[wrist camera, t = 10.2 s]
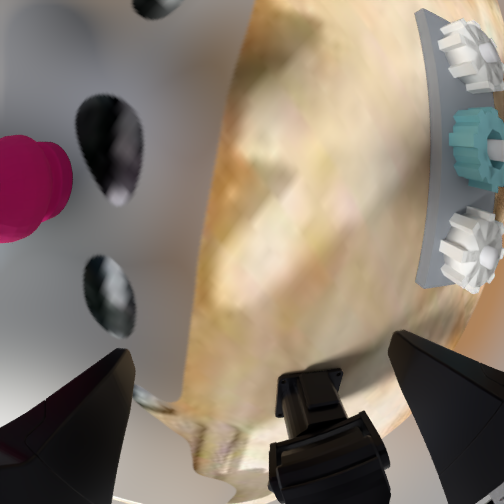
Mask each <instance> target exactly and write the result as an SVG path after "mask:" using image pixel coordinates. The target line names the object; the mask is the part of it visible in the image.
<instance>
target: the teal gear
mask: <svg viewBox="0 0 504 504" xmlns="http://www.w3.org/2000/svg"><path fill="white" fill-rule="evenodd" d="M453 117H454V119H455V121H456V123H455V125H454V126H453V133H449V146H452V147H453V156H454V157H455V159H456V161H457V162H456V163H455V164H454V168H455V170H456V172H457V174H458V176H461V177H464V178H466V179H469V184H468V186H472V187H476V188H480V189H484V190H488V191H492V192H496V193H498V186H500V187H504V162H501V161H494V160H490V159H489V157H488V154H487V139H496V140H504V123H503V120H502V119H500V118H499V117H498V111H497V110H496V109H494V108H493V107H479V108H468V110H458V111H457V112H456V114H455V115H454V116H453Z"/></svg>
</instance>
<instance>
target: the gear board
mask: <svg viewBox="0 0 504 504" xmlns="http://www.w3.org/2000/svg"><path fill="white" fill-rule="evenodd" d="M414 14H415V18H416V22H417V26H418V30H419V35H420V40H421V45H422V50H423V56H424V62H425V69H426V77H427V85H428V96H429V109H430V133H431V157H430V181H429V195H428V206H427V215H426V223H425V231H424V238H423V244H422V250H421V256H420V261H419V266H418V271H417V276H416V280H415V282H416V283H417V284H418V285H420V286H421V287H422V288H424V289H426V288H433V287H440V286H446V285H452V284H457V285H459V286H460V287H462V288H463V289H464V288H465V289H466V290H467V291H469V292H470V293H472V294H475V293H478V292H479V289H480V286H482V285H483V284H485V283H486V282H488V283H490V282H491V281H492V280H493V278H494V277H495V274H494V271H495V269H496V267H497V265H498V262H499V259H502V258H503V254H504V248H502V235H503V233H504V227H503V223H501V222H498V221H496V220H495V214H493V208H494V199H495V192H492V191H488V190H484V189H480V188H476V187H472V186H468V184H469V179H466V178H464V177H461V176H458V174H457V172H456V170H455V168H454V164H455V163H456V162H457V161H456V159H455V157H454V156H453V147H452V146H449V133H453V126H454V125H455V123H456V121H455V119H454V117H453V116H454V115H455V114H456V112H457V111H458V110H468V108H479V107H493V108H494V99H493V92H495V91H503V90H504V82H503V74H504V64H503V63H502V62H501V60H500V57H499V55H498V53H497V50H496V48H497V46H496V44H495V43H494V41H493V39H492V38H488V36H487V35H486V34H485V33H484V32H483V31H482V30H481V27H480V24H478V23H477V22H475V21H474V20H472V21H469V22H466V21H465V20H464V18H462V19H459V20H457V21H454V22H452V23H450V22H448V21H447V20H445V19H443V18H441V17H439V16H437V15H436V14H434V13H432V12H430V11H428V10H426V9H424V8H422V9H421V10H419V11H417V12H416V13H414ZM494 109H495V108H494ZM487 154H488V157H489V159H490V160H494V161H501V162H504V140H496V139H487Z"/></svg>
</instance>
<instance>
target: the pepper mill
mask: <svg viewBox="0 0 504 504" xmlns="http://www.w3.org/2000/svg"><path fill="white" fill-rule="evenodd" d="M72 184H73V173H72V167H71V163H70V161H69V158H68V156H67V154H66V153H65V151H64V150H63V149H62V148H61V147H60V146H59V145H57V144H55V143H52V142H36V141H34V140H33V139H32V138H29V137H27V136H24V135H13V136H5V137H3V138H0V243H9V242H14V241H17V240H20V239H22V238H25V237H27V236H29V235H30V234H32V233H33V232H34V231H35V230H36V229H37V228H38V226H39V225H40V224H41V222H44V221H46V220H48V219H50V218H53V217H55V216H56V215H58V214H59V213H60V212H61V211H62V210H63V209H64V207H65V206H66V204H67V202H68V200H69V197H70V194H71V190H72Z"/></svg>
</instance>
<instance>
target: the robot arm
mask: <svg viewBox="0 0 504 504" xmlns="http://www.w3.org/2000/svg"><path fill="white" fill-rule="evenodd" d="M388 356H389V359H390V361H391V364H392V367H393V369H394V372H395V375H396V377H397V380H398V383H399V386H400V388H401V390H402V393H403V395H404V397H405V399H406V401H407V403H408V405H409V407H410V409H411V412H412V414H413V416H414V418H415V420H416V423H417V425H418V427H419V429H420V432H421V434H422V436H423V438H424V441H425V443H426V446H427V448H428V450H429V452H430V455H431V457H432V460H433V463H434V465H435V468H436V470H437V473H438V475H439V479H440V481H441V484H442V487H443V489H444V492H445V495H446V498H447V501H448V504H475V503H477V502H478V501H479V500H481V499H483V498H484V497H485V496H487V495H488V494H489V495H490V497H491V499H490V500H489V501H488V502H487V503H485V504H504V372H502V371H499V370H497V369H494V368H492V367H489V366H487V365H485V364H482V363H479V362H478V361H475V360H473V359H471V358H468V357H466V356H464V355H461V354H459V353H456V352H454V351H452V350H450V349H447V348H445V347H443V346H440V345H438V344H436V343H434V342H431V341H429V340H427V339H424V338H422V337H420V336H418V335H415V334H413V333H411V332H408V331H406V330H400V331H396V332H394V333H393V335H392V339H391V342H390V345H389V348H388ZM342 376H343V371H342V369H340V368H337V369H331V370H324V371H317V372H310V373H302V374H293V375H283V376H280V377H279V378H278V382H277V395H276V407H275V415H276V417H278V418H282V417H284V419H285V424H286V428H287V433H288V437H289V440H285V441H282V442H278V443H276V442H275V443H271V444H270V451H269V482H268V489H269V490H270V491H272V492H273V493H274V494H275V496H276V498H277V500H278V501H279V502H280V503H281V504H284V503H285V504H389V501H390V497H391V493H390V486H389V482H388V480H387V476H386V474H385V471H384V470H385V469H387V468H389V467H390V460H389V456H388V453H387V451H386V448H385V445H384V443H383V441H382V439H381V437H380V435H379V434H378V432H377V430H376V429H375V427H374V425H373V424H372V422H371V420H370V419H369V417H368V416H367V414H366V412H365V411H362V412H359V414H357V415H355V416H353V417H350V418H348V416H347V414H346V411H345V409H344V407H343V404H342V402H341V400H340V397H339V395H338V391H339V387H340V384H341V380H342ZM134 380H135V366H134V363H133V360H132V357H131V354H130V352H129V350H128V349H123V348H116V349H115V350H113V351H112V352H111V353H109V354H108V355H106V356H105V357H104V358H102V359H101V360H99V361H98V362H97V363H95V364H94V365H93V366H91V367H90V368H88V369H87V370H86V371H84V372H83V373H81V374H80V375H79V376H77V377H76V378H74V379H73V380H72V381H70V382H69V383H67V384H66V385H65V386H63V387H62V388H60V389H59V390H58V391H56V392H55V393H54V394H52V395H51V396H49V397H48V398H46V401H45V400H44V401H42V402H41V403H39V404H38V405H37V406H35V407H34V408H32V409H31V410H29V411H28V412H26V413H25V414H23V415H21V416H20V417H18V418H16V419H15V420H13V421H11V422H9V423H8V424H6V425H4V426H2V427H1V428H0V504H111V503H112V497H113V490H114V484H115V479H116V474H117V468H118V463H119V458H120V453H121V449H122V444H123V440H124V435H125V431H126V427H127V422H128V419H129V414H130V409H131V402H132V394H133V387H134ZM282 380H284V381H282Z"/></svg>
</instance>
